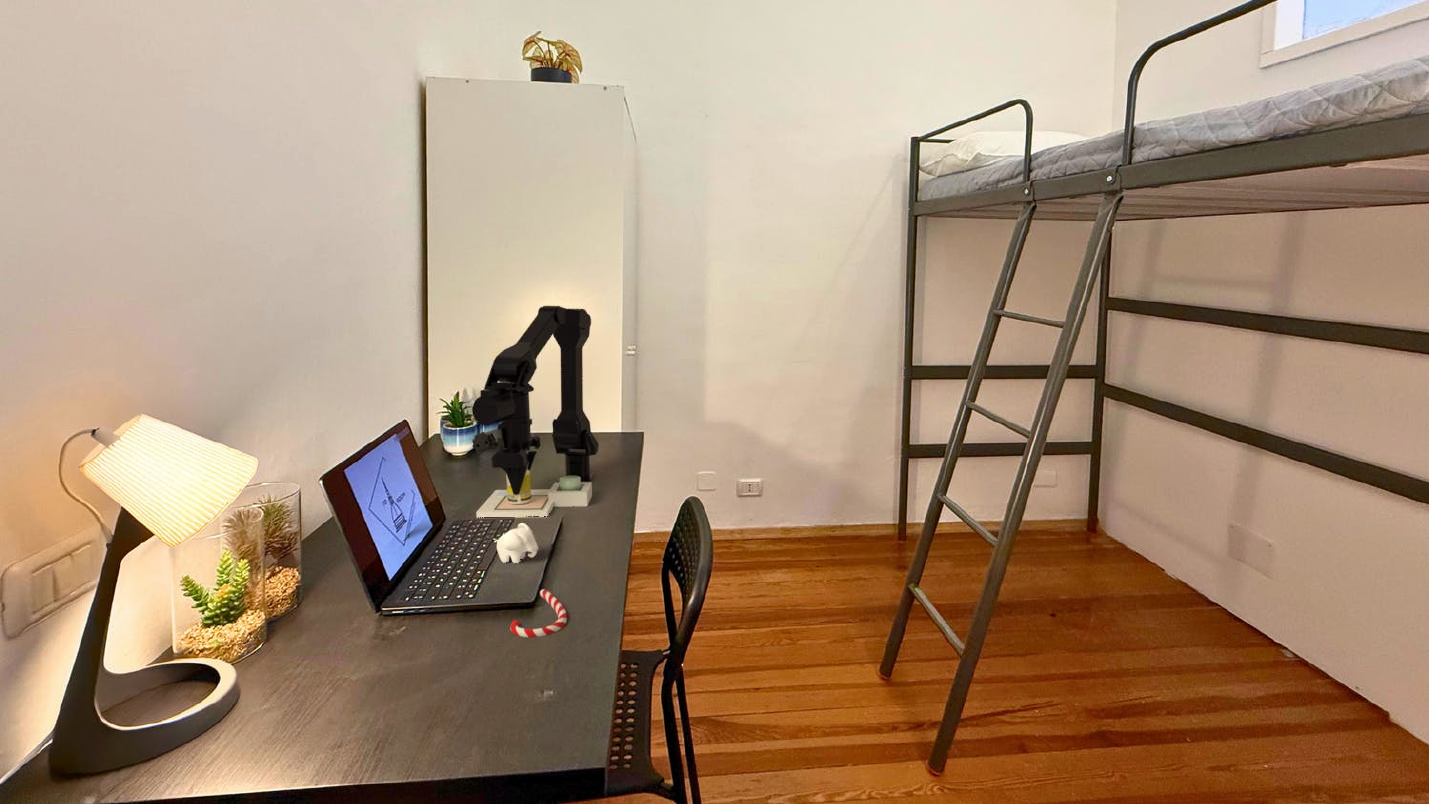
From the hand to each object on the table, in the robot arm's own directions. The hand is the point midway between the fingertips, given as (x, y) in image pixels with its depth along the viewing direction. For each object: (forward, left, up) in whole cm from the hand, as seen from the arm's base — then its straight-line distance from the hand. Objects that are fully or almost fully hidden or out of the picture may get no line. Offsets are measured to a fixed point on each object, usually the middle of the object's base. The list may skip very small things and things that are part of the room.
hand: (519, 490), depth 167 cm
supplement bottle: (0, 0, -2) cm, 2 cm away
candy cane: (+52, +14, -4) cm, 53 cm away
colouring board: (-2, 0, -4) cm, 4 cm away
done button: (-5, +10, -1) cm, 11 cm away
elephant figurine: (+30, +6, -4) cm, 31 cm away
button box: (-5, +10, -4) cm, 12 cm away
